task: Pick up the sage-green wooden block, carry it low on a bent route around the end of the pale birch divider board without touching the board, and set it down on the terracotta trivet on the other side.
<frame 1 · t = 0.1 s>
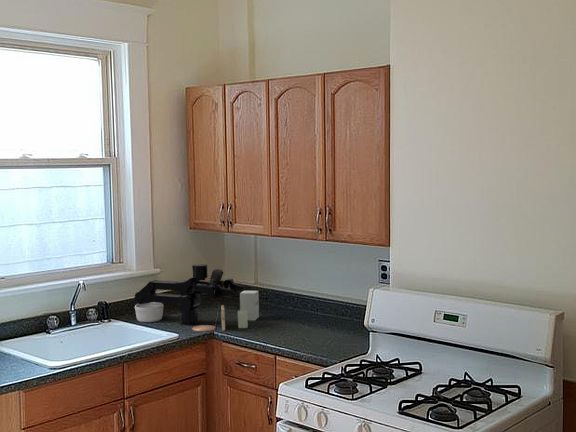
hand: (238, 289, 327), 17 cm above the counter, tool horizontal, fingers open, 9 cm apart
divider board: (223, 327, 328), on the counter
sage block: (242, 327, 329), on the counter
ramekin: (149, 320, 348), on the counter
trivet: (203, 328, 327), on the counter
supplement box: (249, 319, 345), on the counter
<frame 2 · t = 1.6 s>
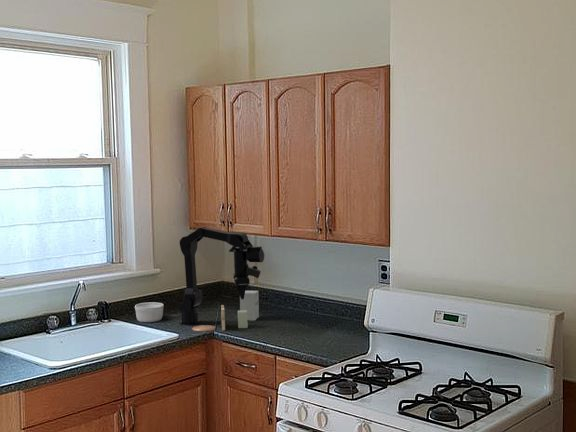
hand: (242, 297, 328), 13 cm above the counter, tool pointing down, fingers open, 9 cm apart
nothing on the counter moved.
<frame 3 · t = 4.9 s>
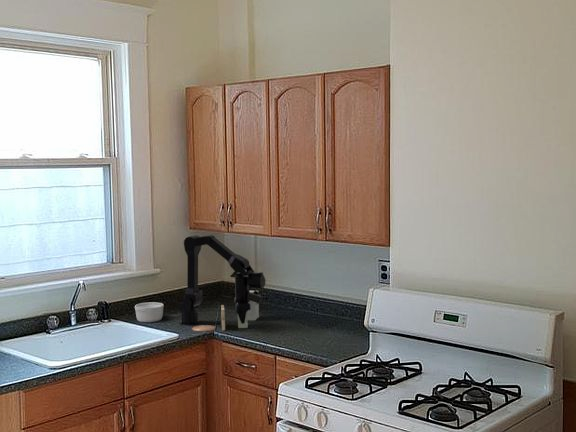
hand: (242, 322, 329), 2 cm above the counter, tool pointing down, fingers closed on sage block, 4 cm apart
sage block: (242, 326, 329), on the counter, touching gripper
everything else where it was.
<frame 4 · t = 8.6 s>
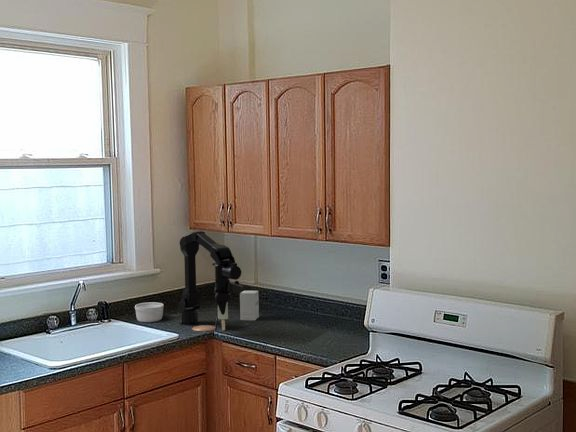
hand: (222, 313, 317), 9 cm above the counter, tool pointing down, fingers closed on sage block, 4 cm apart
sage block: (223, 318, 317), point 7 cm above the counter, touching gripper
everything else where it was.
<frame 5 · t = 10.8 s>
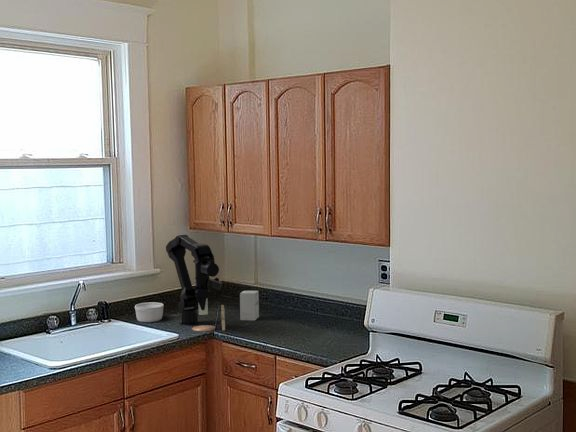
hand: (203, 309, 327), 9 cm above the counter, tool pointing down, fingers closed on sage block, 4 cm apart
sage block: (203, 313, 327), point 7 cm above the counter, touching gripper
everything else where it was.
when the fingers open (4 cm above the counter, at t = 12.5 s): sage block drops 2 cm, resting on trivet.
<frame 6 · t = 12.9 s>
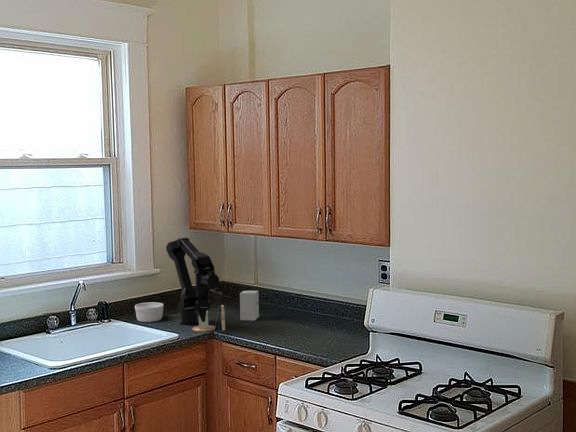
hand: (203, 319, 327), 4 cm above the counter, tool pointing down, fingers open, 9 cm apart
sage block: (203, 327, 327), resting on trivet
everything else where it was.
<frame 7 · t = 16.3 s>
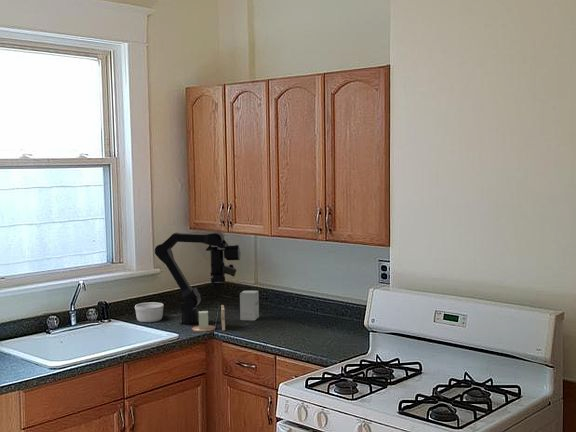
hand: (218, 294, 336), 13 cm above the counter, tool pointing down, fingers open, 9 cm apart
nothing on the counter moved.
at the end: sage block 0.0 cm from the trivet (horizontally); sage block tilted 0°; sage block touching trivet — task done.
